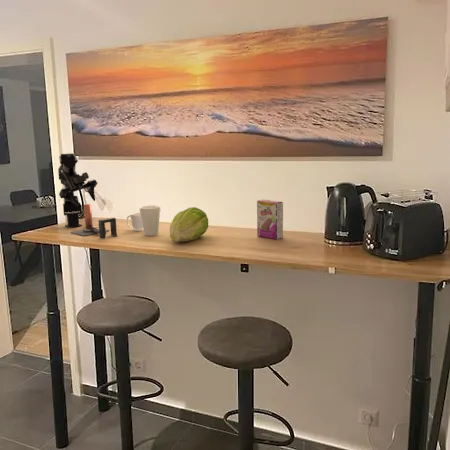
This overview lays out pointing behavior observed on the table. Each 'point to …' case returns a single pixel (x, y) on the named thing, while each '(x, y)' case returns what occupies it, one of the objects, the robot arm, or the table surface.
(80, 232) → the mat
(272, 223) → the candy bar box
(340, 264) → the table surface
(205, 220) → the lettuce
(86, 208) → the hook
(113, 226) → the brown square arch
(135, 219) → the cup
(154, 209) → the foam cup
